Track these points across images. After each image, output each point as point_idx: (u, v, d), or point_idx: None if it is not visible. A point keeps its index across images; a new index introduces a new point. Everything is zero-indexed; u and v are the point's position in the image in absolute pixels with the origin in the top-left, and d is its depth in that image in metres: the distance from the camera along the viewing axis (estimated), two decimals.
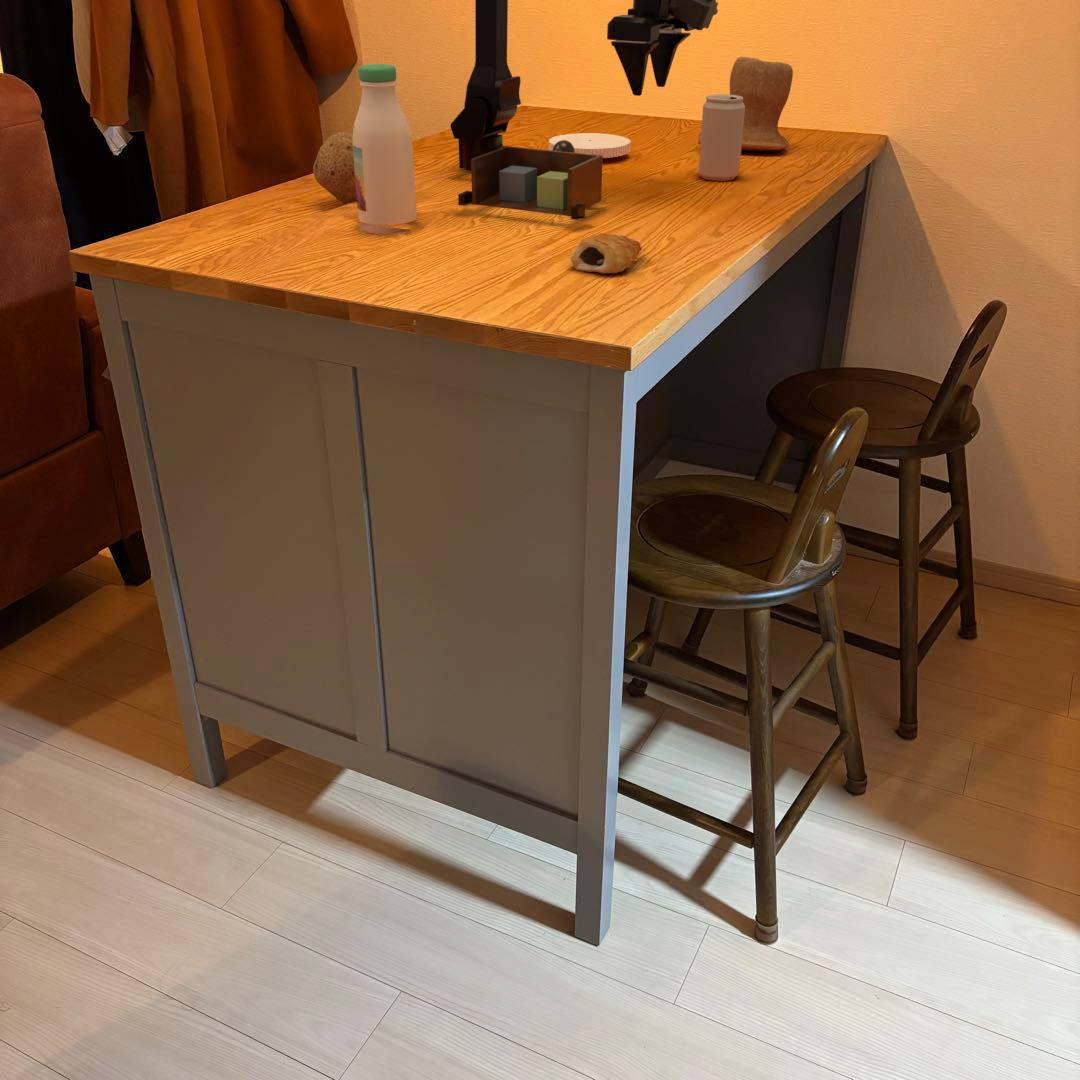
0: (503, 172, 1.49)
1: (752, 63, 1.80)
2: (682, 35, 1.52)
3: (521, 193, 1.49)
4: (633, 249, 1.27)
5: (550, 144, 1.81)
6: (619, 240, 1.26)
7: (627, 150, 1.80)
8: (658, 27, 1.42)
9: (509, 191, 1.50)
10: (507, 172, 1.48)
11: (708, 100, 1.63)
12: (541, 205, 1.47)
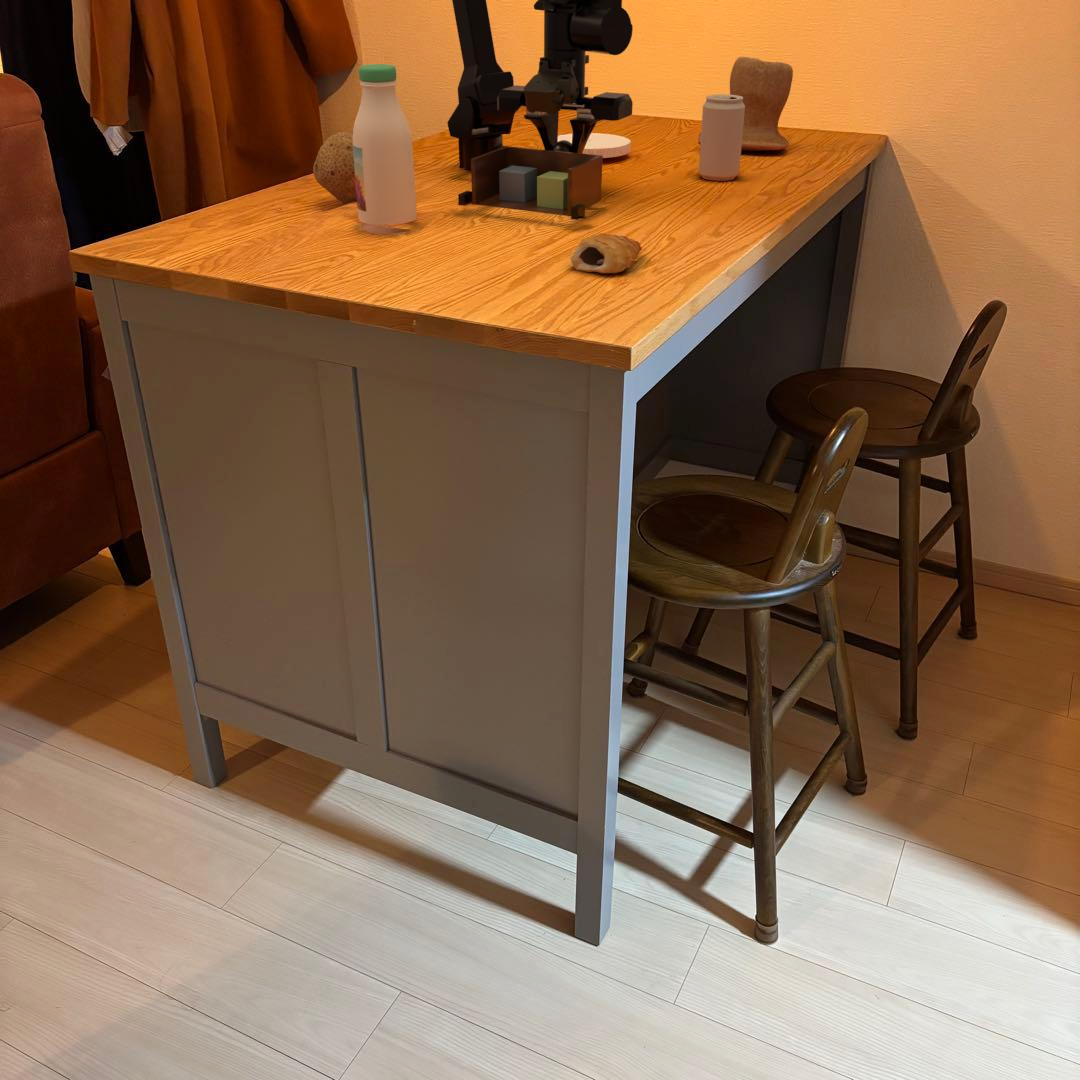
0: (503, 172, 1.49)
1: (752, 63, 1.80)
2: (571, 120, 1.49)
3: (521, 193, 1.49)
4: (633, 249, 1.27)
5: None
6: (619, 240, 1.26)
7: (627, 150, 1.80)
8: (516, 101, 1.50)
9: (509, 191, 1.50)
10: (507, 172, 1.48)
11: (708, 100, 1.63)
12: (541, 205, 1.47)
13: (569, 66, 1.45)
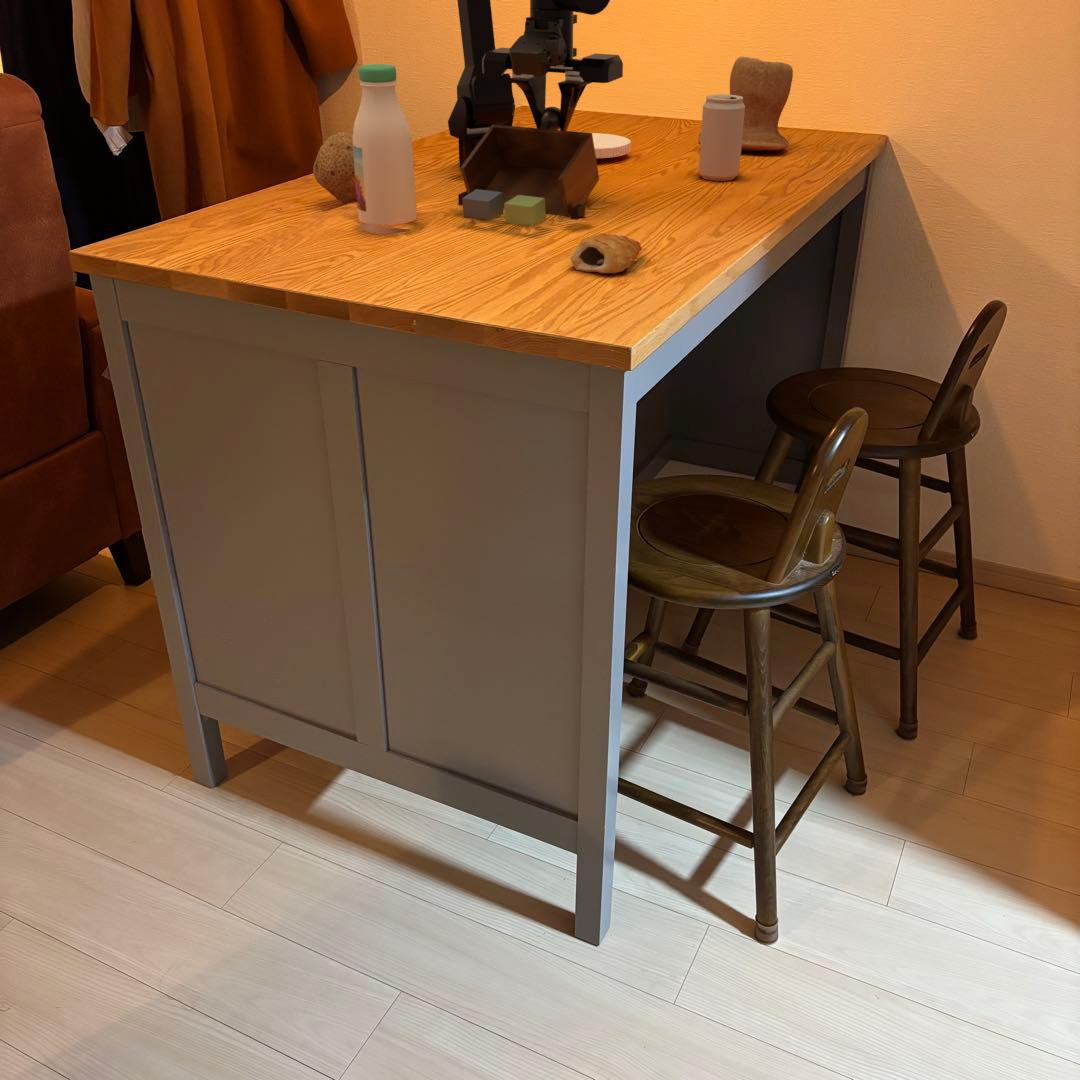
0: None
1: (752, 63, 1.80)
2: None
3: None
4: (633, 249, 1.27)
5: None
6: (619, 240, 1.26)
7: (627, 150, 1.80)
8: (501, 64, 1.45)
9: None
10: None
11: (708, 100, 1.63)
12: None
13: (556, 26, 1.39)
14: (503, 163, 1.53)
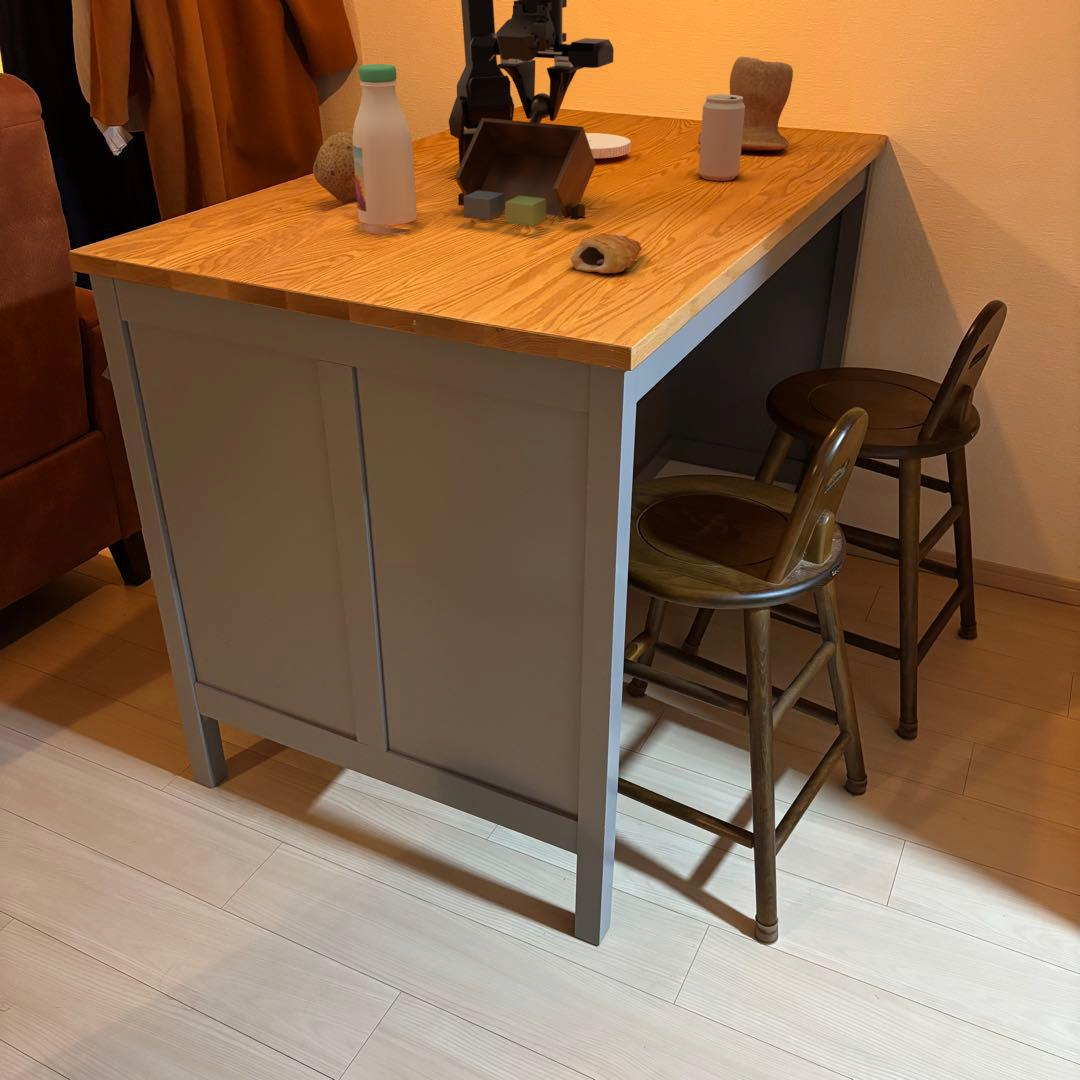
0: None
1: (752, 63, 1.80)
2: None
3: None
4: (633, 249, 1.27)
5: None
6: (619, 240, 1.26)
7: (627, 150, 1.80)
8: (489, 49, 1.41)
9: None
10: None
11: (708, 100, 1.63)
12: None
13: (545, 9, 1.35)
14: (497, 151, 1.51)
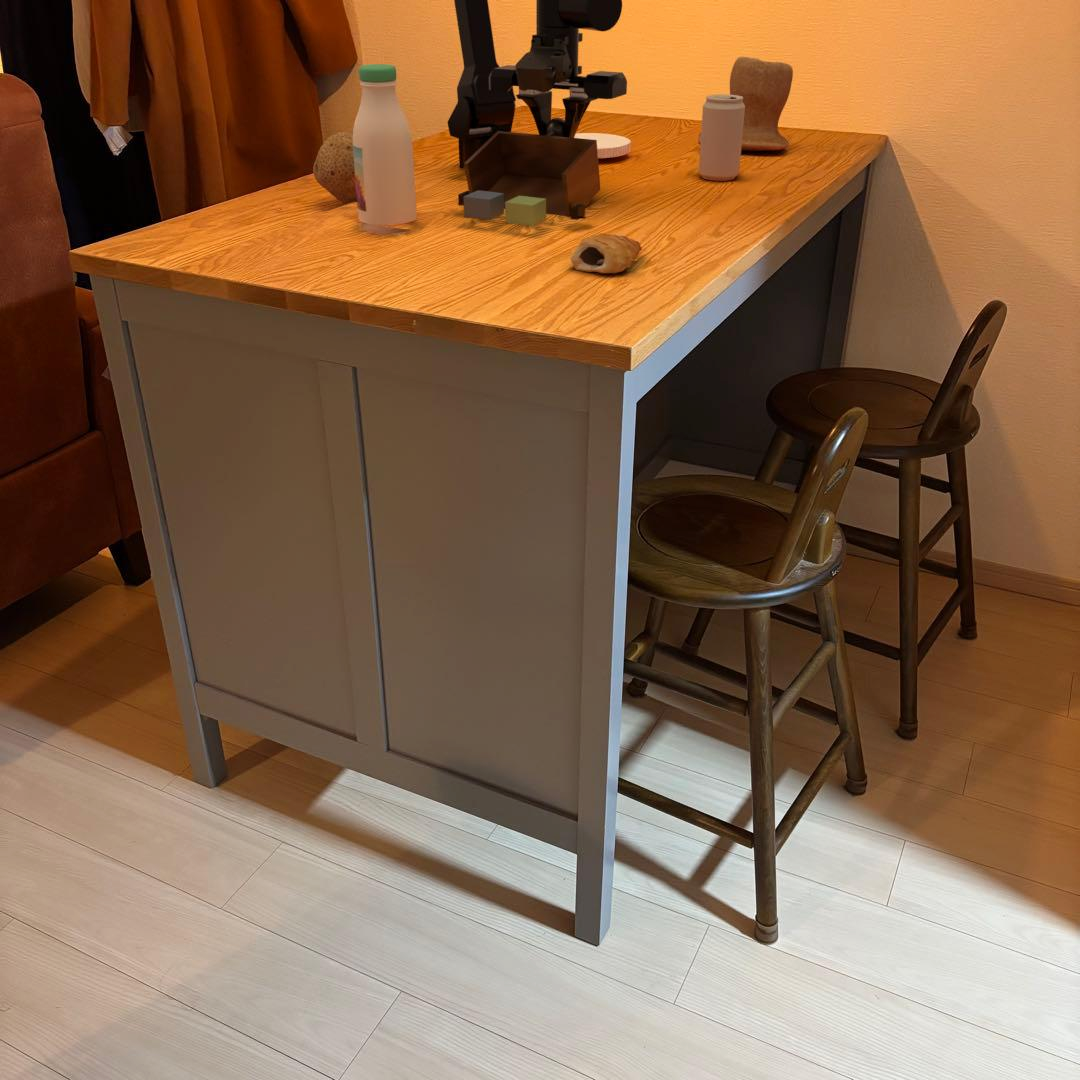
0: None
1: (752, 63, 1.80)
2: (564, 99, 1.45)
3: None
4: (633, 249, 1.27)
5: None
6: (619, 240, 1.26)
7: (627, 150, 1.80)
8: (508, 80, 1.47)
9: None
10: None
11: (708, 100, 1.63)
12: None
13: (562, 43, 1.42)
14: (505, 172, 1.54)
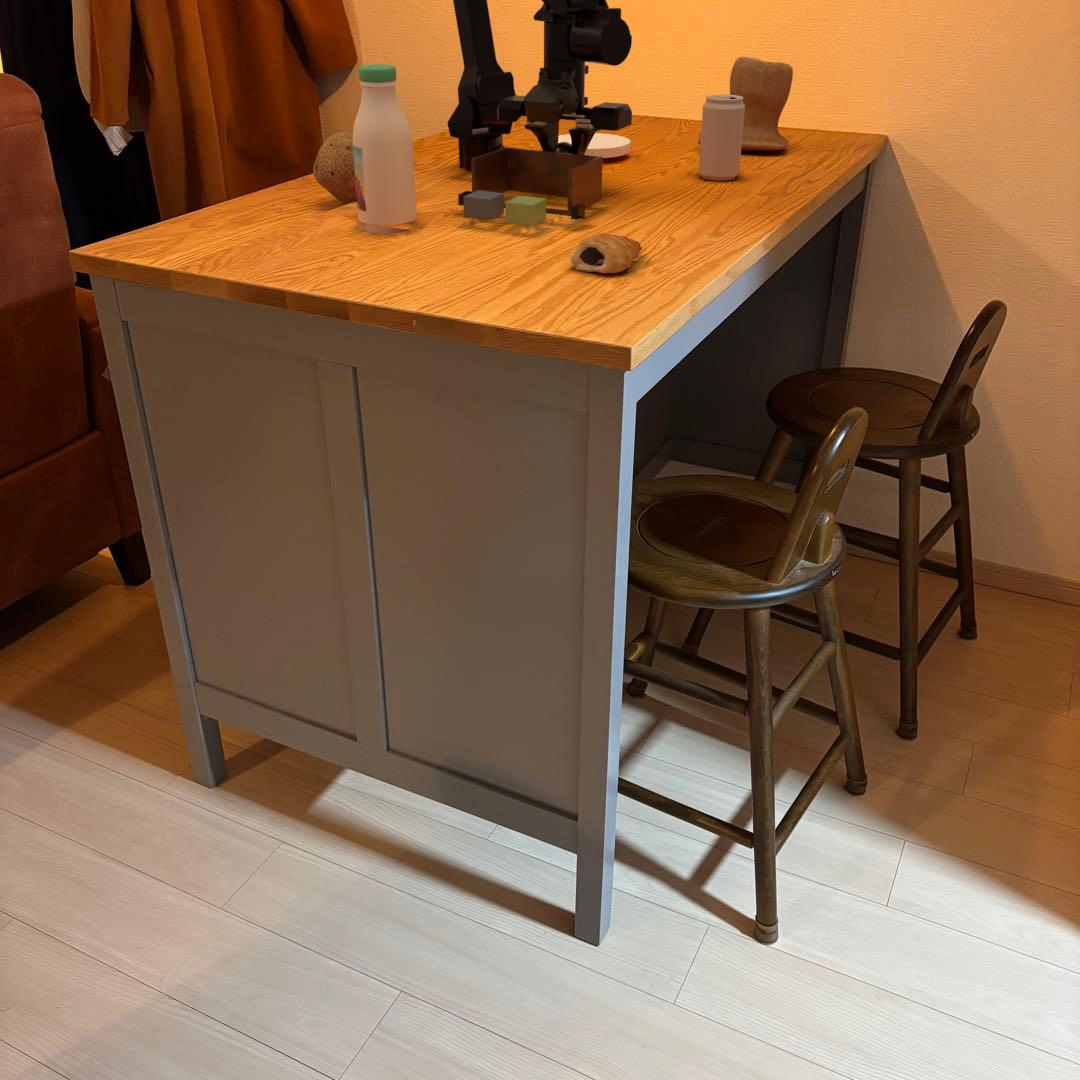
0: None
1: (752, 63, 1.80)
2: (570, 130, 1.49)
3: None
4: (633, 249, 1.27)
5: None
6: (619, 240, 1.26)
7: (627, 150, 1.80)
8: (516, 111, 1.51)
9: None
10: None
11: (708, 100, 1.63)
12: None
13: (569, 76, 1.45)
14: (508, 189, 1.56)
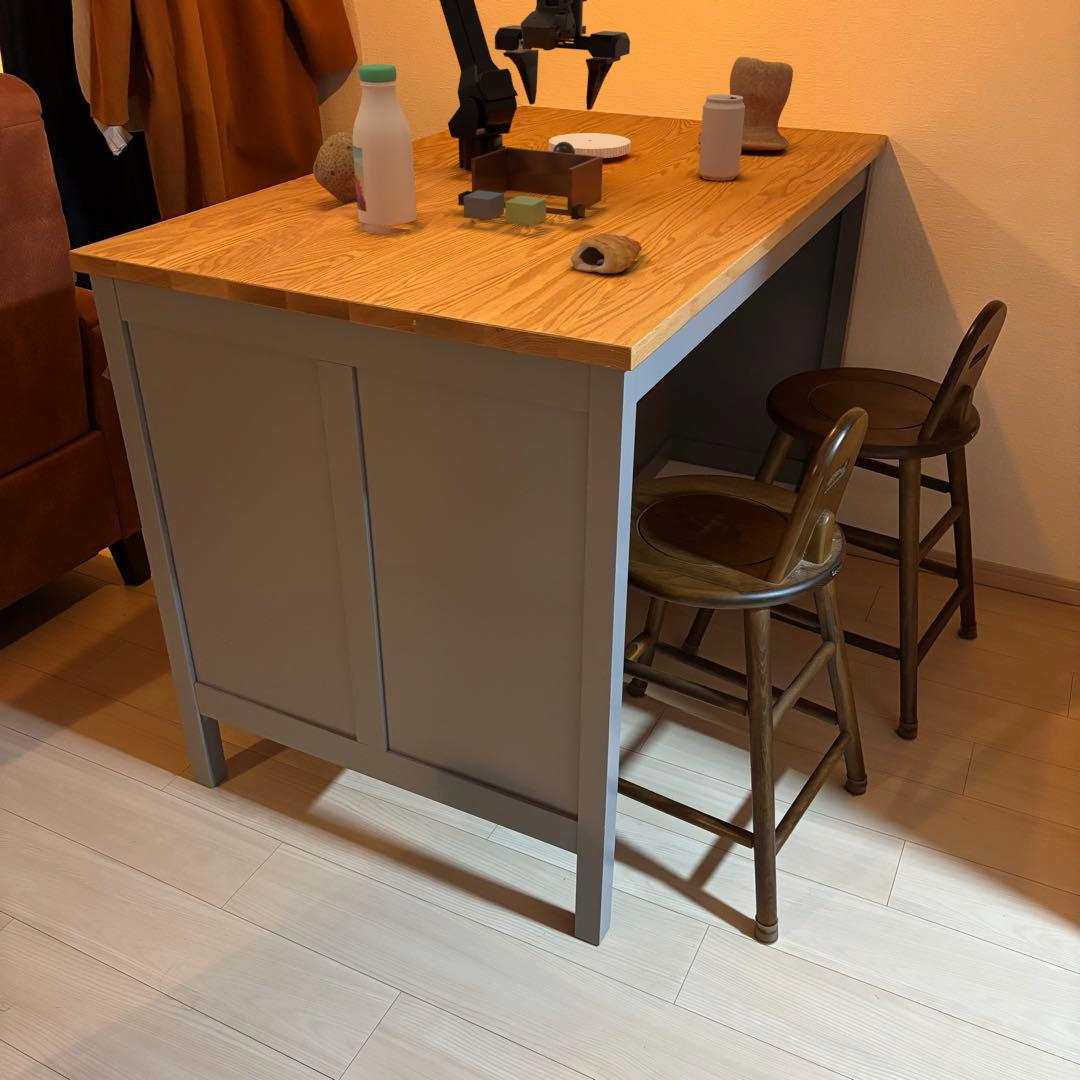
0: None
1: (752, 63, 1.80)
2: None
3: None
4: (633, 249, 1.27)
5: (550, 144, 1.81)
6: (619, 240, 1.26)
7: (627, 150, 1.80)
8: (513, 39, 1.50)
9: None
10: None
11: (708, 100, 1.63)
12: None
13: (566, 2, 1.44)
14: (508, 189, 1.56)
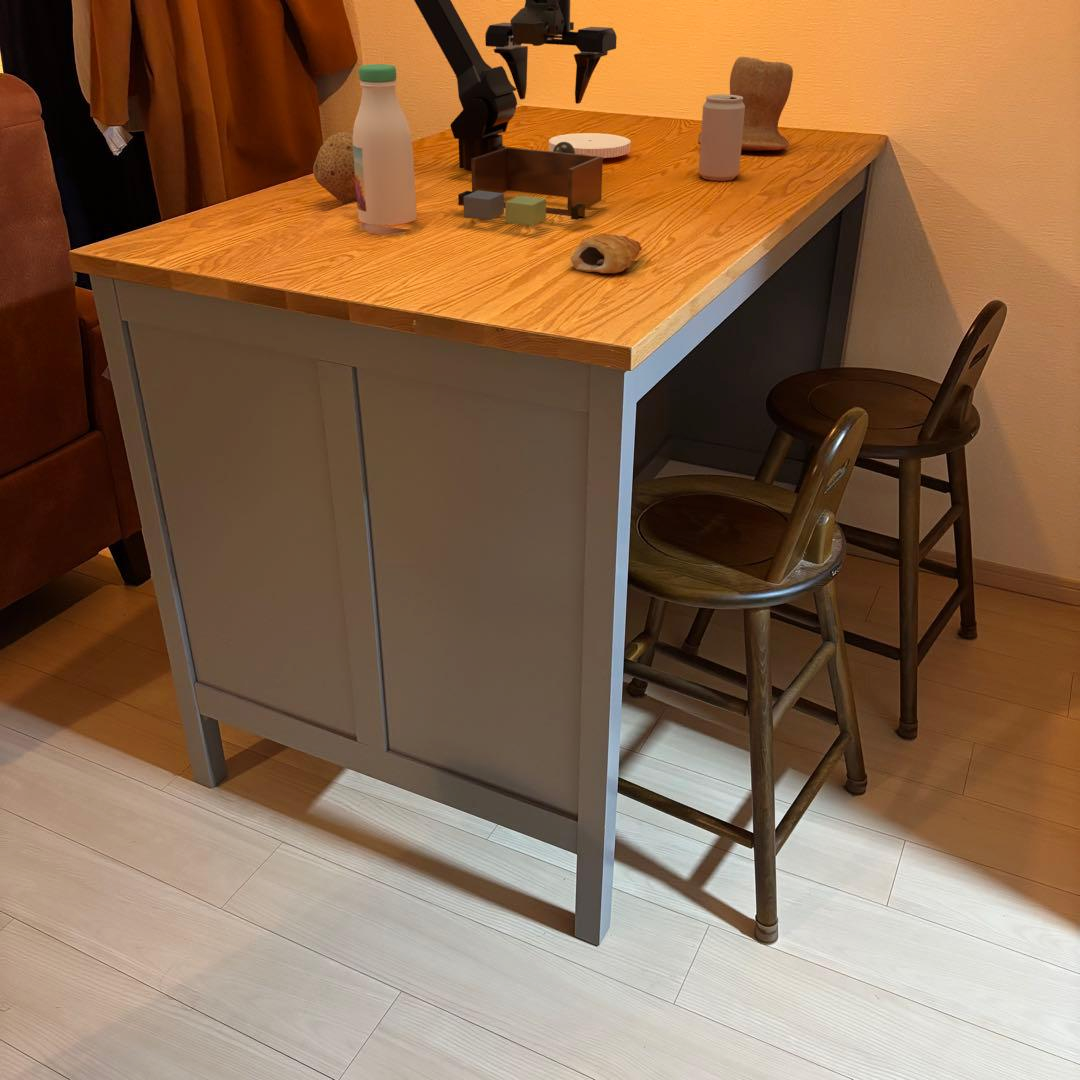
0: None
1: (752, 63, 1.80)
2: None
3: None
4: (633, 249, 1.27)
5: (550, 144, 1.81)
6: (619, 240, 1.26)
7: (627, 150, 1.80)
8: (503, 36, 1.55)
9: None
10: None
11: (708, 100, 1.63)
12: None
13: None
14: (508, 189, 1.56)
